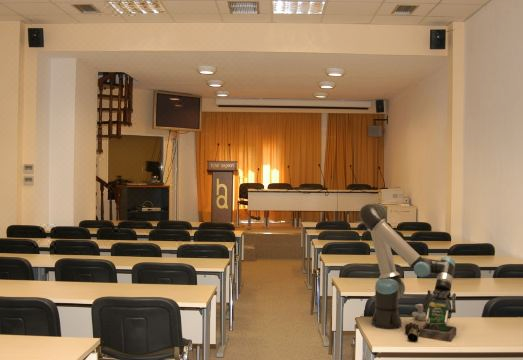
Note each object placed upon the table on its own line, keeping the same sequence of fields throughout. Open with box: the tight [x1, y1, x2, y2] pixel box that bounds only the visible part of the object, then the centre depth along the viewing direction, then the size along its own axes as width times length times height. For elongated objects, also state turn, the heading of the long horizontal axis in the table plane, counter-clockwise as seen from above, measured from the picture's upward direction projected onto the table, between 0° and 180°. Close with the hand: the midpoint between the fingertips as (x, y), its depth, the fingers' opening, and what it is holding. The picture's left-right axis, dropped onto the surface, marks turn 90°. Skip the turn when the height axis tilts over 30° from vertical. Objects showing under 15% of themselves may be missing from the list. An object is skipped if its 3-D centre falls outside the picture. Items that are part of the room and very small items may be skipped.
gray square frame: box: [418, 322, 457, 343], centre depth 244 cm, size 14×14×4 cm
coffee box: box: [428, 301, 448, 332], centre depth 244 cm, size 8×3×13 cm, turn 60°
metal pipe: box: [404, 322, 420, 343], centre depth 241 cm, size 18×7×6 cm, turn 159°
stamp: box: [411, 303, 427, 321], centre depth 274 cm, size 9×7×8 cm
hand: (436, 322), depth 241 cm, fingers closed on coffee box, 8 cm apart
